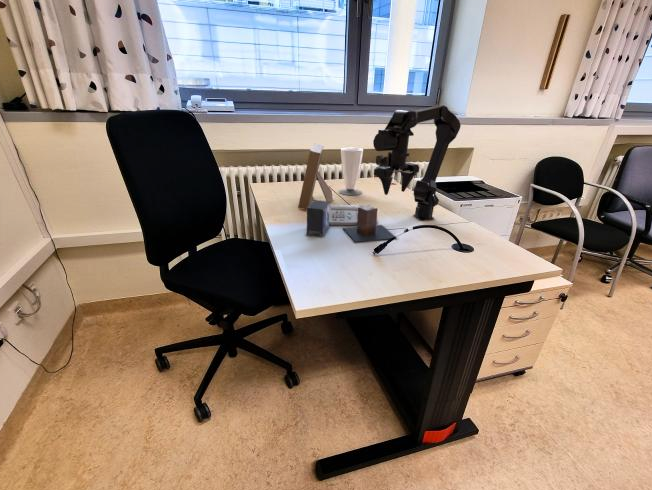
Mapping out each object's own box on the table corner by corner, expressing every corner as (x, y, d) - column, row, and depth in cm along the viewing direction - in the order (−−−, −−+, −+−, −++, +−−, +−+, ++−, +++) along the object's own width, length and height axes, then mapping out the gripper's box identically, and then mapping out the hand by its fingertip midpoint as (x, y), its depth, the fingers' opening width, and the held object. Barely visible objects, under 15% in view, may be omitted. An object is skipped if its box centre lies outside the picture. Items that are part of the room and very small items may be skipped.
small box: (323, 237, 123) (323, 209, 118) (306, 235, 124) (305, 207, 119) (329, 227, 132) (330, 200, 127) (313, 226, 133) (313, 199, 128)
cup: (338, 189, 183) (339, 147, 172) (359, 189, 184) (361, 147, 174) (340, 195, 173) (342, 150, 163) (362, 195, 174) (365, 150, 164)
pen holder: (366, 229, 130) (368, 204, 125) (375, 233, 127) (377, 208, 122) (356, 231, 127) (358, 207, 123) (365, 235, 124) (367, 210, 119)
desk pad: (381, 225, 135) (381, 224, 135) (396, 238, 123) (396, 237, 123) (343, 229, 131) (343, 228, 131) (354, 242, 119) (354, 241, 119)
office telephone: (329, 202, 153) (373, 203, 153) (329, 208, 154) (372, 209, 154) (327, 218, 133) (377, 220, 133) (326, 225, 134) (377, 226, 134)
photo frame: (298, 209, 151) (296, 150, 138) (303, 196, 169) (302, 143, 157) (331, 210, 150) (332, 151, 138) (333, 197, 169) (334, 144, 157)
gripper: (400, 145, 132) (396, 185, 140) (365, 148, 122) (362, 191, 130) (423, 149, 124) (416, 191, 132) (387, 152, 114) (382, 198, 122)
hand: (394, 193), depth 129 cm, fingers open, 9 cm apart
